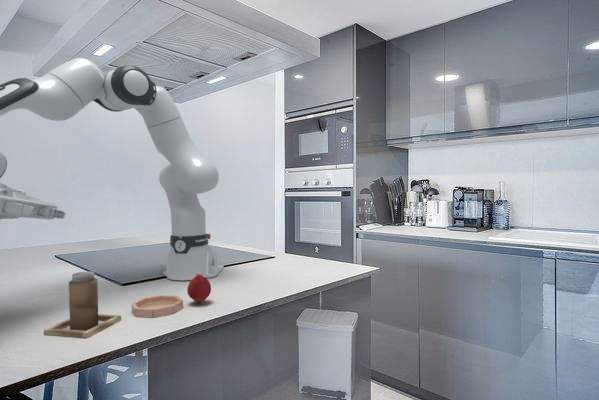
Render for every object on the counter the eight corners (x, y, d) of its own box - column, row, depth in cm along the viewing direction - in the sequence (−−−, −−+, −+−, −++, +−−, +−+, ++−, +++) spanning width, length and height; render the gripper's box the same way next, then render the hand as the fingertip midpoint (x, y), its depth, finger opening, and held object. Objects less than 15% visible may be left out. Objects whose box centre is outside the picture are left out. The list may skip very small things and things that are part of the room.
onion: (213, 299, 95) (212, 269, 94) (208, 306, 89) (207, 275, 89) (191, 300, 94) (190, 270, 94) (184, 307, 89) (184, 275, 88)
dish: (150, 301, 94) (150, 294, 94) (189, 303, 92) (189, 296, 92) (122, 315, 83) (122, 308, 83) (165, 318, 81) (165, 310, 81)
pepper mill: (83, 321, 79) (82, 270, 79) (104, 323, 78) (102, 271, 78) (63, 331, 74) (62, 276, 74) (85, 332, 73) (84, 277, 73)
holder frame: (82, 317, 82) (82, 313, 82) (121, 320, 80) (121, 315, 80) (43, 334, 72) (43, 329, 72) (86, 338, 70) (86, 333, 70)
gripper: (-55, 177, 67) (17, 192, 67) (25, 192, 88) (80, 204, 88) (-66, 210, 66) (7, 225, 66) (17, 217, 87) (73, 229, 87)
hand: (49, 213), depth 77 cm, fingers open, 8 cm apart
